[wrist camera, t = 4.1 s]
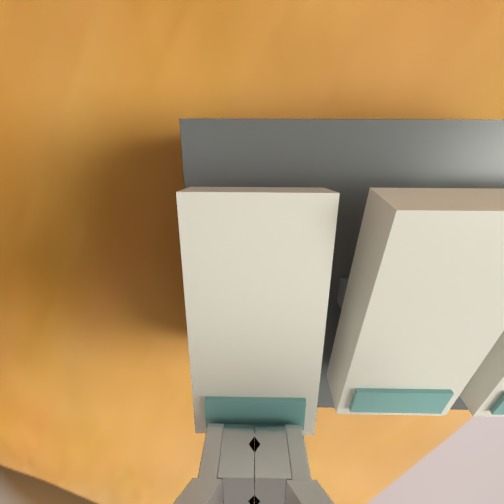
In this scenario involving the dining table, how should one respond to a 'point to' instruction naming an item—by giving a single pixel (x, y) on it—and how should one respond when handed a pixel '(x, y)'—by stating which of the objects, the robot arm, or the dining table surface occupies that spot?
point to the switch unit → (343, 171)
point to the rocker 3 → (487, 384)
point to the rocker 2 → (419, 300)
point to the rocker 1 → (256, 300)
